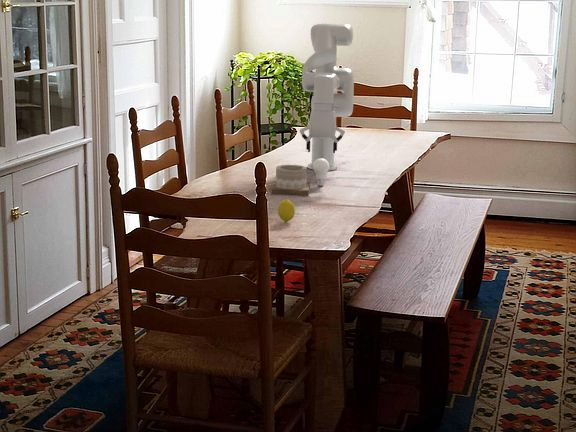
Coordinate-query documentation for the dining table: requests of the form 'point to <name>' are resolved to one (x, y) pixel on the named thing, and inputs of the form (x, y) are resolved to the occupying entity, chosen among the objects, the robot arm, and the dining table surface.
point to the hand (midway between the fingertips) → (321, 152)
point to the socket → (290, 181)
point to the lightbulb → (320, 170)
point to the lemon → (286, 210)
